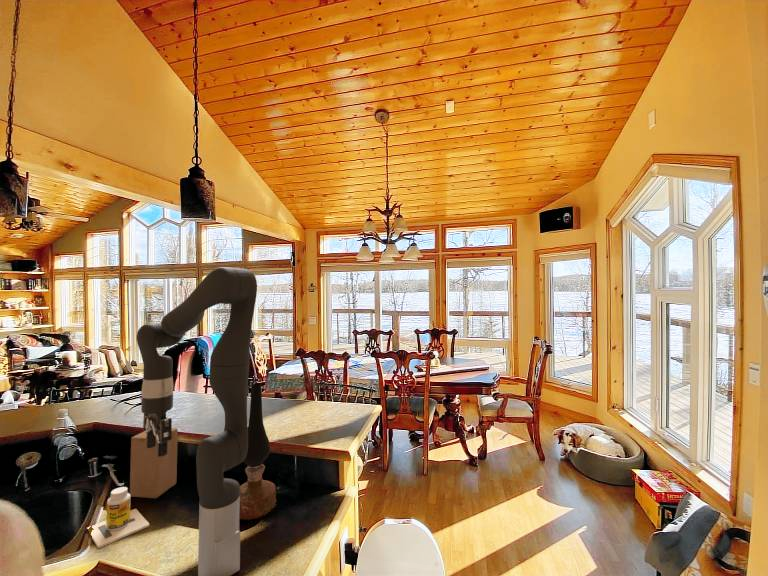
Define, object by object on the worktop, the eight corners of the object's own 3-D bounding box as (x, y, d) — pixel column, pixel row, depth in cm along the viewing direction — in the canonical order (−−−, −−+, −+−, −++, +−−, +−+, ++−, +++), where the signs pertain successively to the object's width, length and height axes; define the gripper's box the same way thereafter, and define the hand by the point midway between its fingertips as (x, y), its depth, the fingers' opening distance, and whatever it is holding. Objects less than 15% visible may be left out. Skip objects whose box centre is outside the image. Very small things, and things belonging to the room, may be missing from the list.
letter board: (149, 526, 104) (149, 523, 104) (98, 548, 94) (98, 546, 94) (135, 510, 111) (135, 508, 111) (87, 529, 102) (87, 527, 102)
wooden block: (156, 499, 118) (157, 438, 118) (128, 497, 119) (130, 437, 119) (177, 483, 127) (178, 427, 128) (151, 481, 129) (153, 426, 129)
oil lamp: (250, 502, 122) (244, 384, 130) (289, 501, 118) (280, 379, 125) (221, 521, 109) (216, 389, 116) (263, 521, 105) (255, 384, 112)
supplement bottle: (105, 534, 99) (106, 497, 99) (107, 523, 104) (108, 488, 104) (129, 527, 102) (130, 491, 102) (130, 517, 107) (131, 483, 107)
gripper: (182, 395, 98) (181, 453, 98) (162, 386, 107) (161, 440, 107) (151, 401, 92) (150, 463, 92) (133, 391, 101) (132, 448, 101)
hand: (156, 451), depth 99 cm, fingers open, 8 cm apart
